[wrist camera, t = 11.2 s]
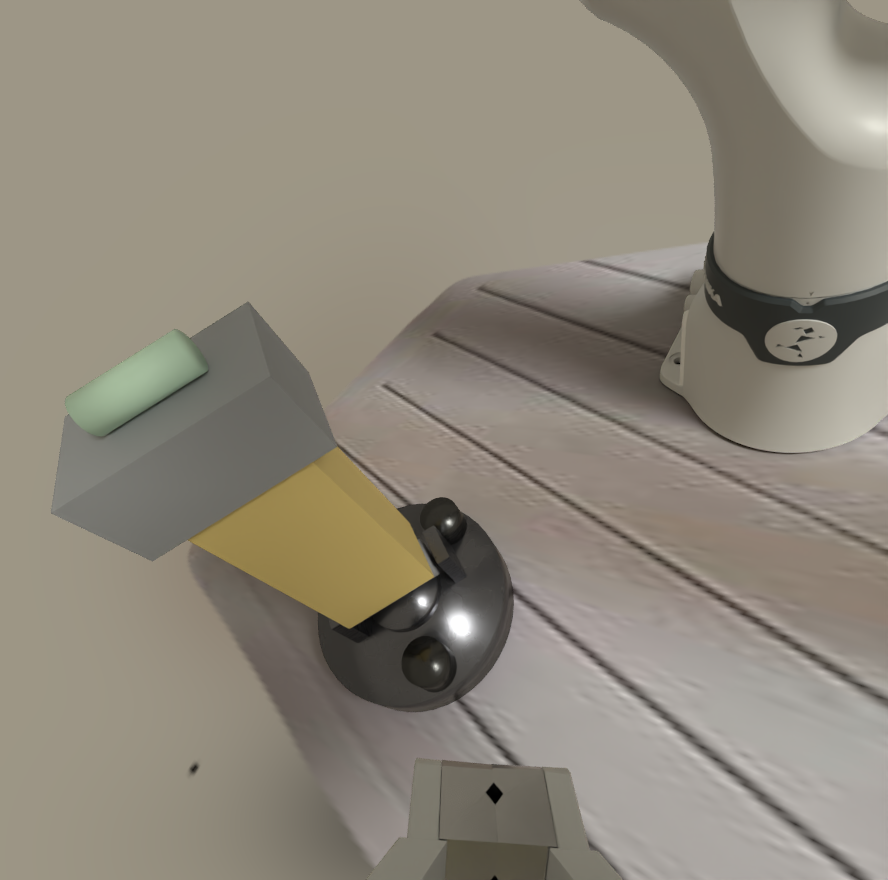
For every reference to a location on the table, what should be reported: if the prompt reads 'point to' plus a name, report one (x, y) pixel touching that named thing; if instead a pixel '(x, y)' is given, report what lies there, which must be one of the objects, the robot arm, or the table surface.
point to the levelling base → (430, 621)
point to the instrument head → (234, 471)
